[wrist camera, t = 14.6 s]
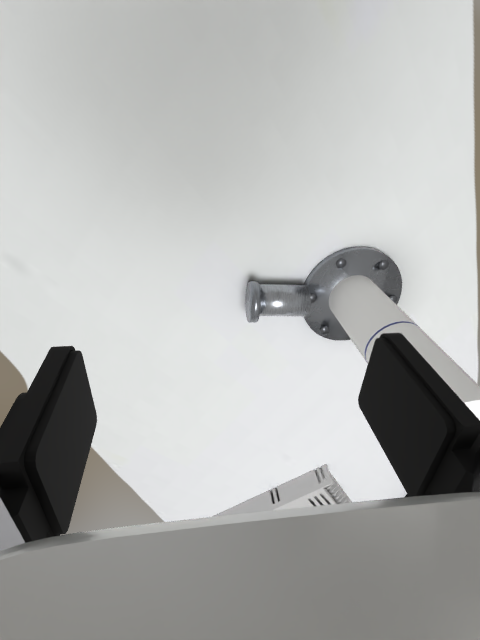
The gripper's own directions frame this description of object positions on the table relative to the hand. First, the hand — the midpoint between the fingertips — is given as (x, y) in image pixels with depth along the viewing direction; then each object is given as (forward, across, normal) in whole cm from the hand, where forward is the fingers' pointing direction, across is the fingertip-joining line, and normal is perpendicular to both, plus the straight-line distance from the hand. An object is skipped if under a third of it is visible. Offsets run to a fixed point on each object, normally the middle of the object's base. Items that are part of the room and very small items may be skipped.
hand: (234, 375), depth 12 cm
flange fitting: (+36, -18, +17) cm, 44 cm away
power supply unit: (+37, -16, +74) cm, 84 cm away
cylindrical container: (+36, -22, +17) cm, 45 cm away
